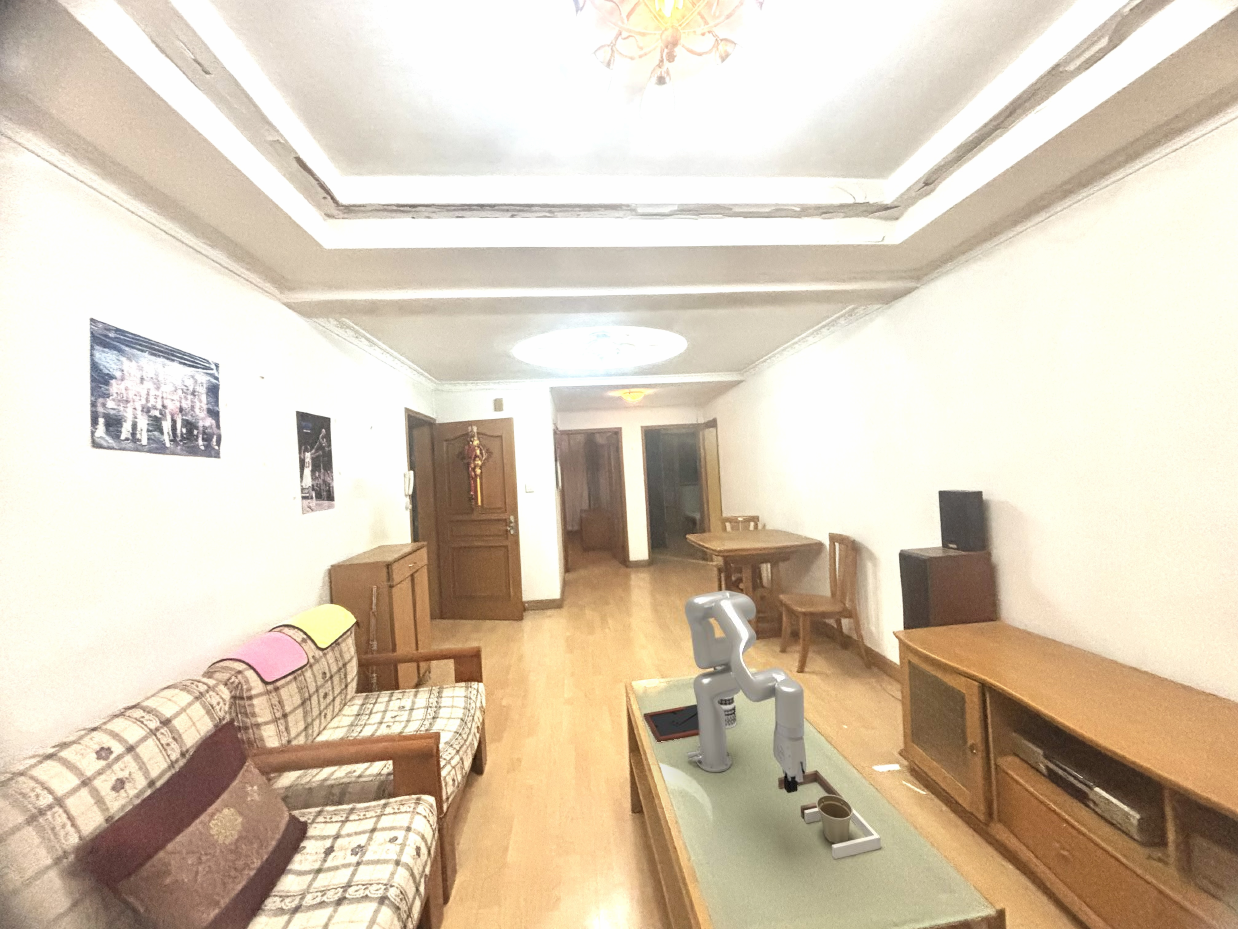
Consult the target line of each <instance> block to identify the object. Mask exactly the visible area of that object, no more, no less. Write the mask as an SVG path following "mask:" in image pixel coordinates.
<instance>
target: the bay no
mask: <svg viewBox="0 0 1238 929" xmlns="http://www.w3.org/2000/svg"><path fill="white" fill-rule="evenodd" d="M802 775H803V782H798V781H797V783H798V786H801V785H802V786H803V785H806V784H811V783H812V784H813V783H817V784H818V785H819V786H820V787H821V788H822V790H824V791H825V793H826V795H835V796H839V797H841V798H843V799H845V798H844V797H843V796H842V795H841V794H840V793H839V792H838V790H837V789H836V788H834V786H833V785H832V784H831V783H829V781H828V780H827V779H826V778H825V777H824V776H823V775H822V774H821V773H820V772H819V770H817V769H816V770H811V771H806V774H805V775H804V774H803V773H802ZM777 780H778V781H777V782H778V783H777V784H778V788H779V790H782V789H784V776H780V777H778V778H777ZM814 808H817V805H816V802H812V803H808V804H803V805H800V816H801V818H802V819H805V815H804V811H805V810H810V809H814Z"/></svg>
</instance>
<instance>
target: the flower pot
mask: <svg viewBox="0 0 1238 929" xmlns="http://www.w3.org/2000/svg"><path fill="white" fill-rule="evenodd" d="M843 798H844V797H843ZM843 798H841V797H839V796H835V795H828V794H824V795H823V794H822V795H820V796H819V797H818V798H817V799H816V801H815V803H816V805H817V808H818V810H819V813H820V815H821V820H820V821H821V824H822V825H821V826H822V829H823V835H824V837H825V838H826V839H827V841H829V842H830V843H834V844H839V843H843V842H847V841H849V833H850V824H851V822H850V821H851V816H852V814H853V809H854V807H853V806H852V805H851V804H850V802H849V801H847V800H846V799H845V798H844V799H843Z"/></svg>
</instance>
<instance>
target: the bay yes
mask: <svg viewBox="0 0 1238 929" xmlns="http://www.w3.org/2000/svg"><path fill="white" fill-rule="evenodd" d="M804 815H805V818H804V822H805V823H806V824H809V823H814V822H817V821H818V822H819V821H822V820H821V815H820V813H819V810H818V808H814V809H810V810H805V811H804ZM850 821H852V822H853V823H854V824H855V825H856V827H857V828H858V829H859V830H860V832H862V834H864V836H865V837H862V838H857V839H852V840H848V841H847V842H843V843H839V844H835V843H834V844H832V845H831V854H832V858H833V859H834V860H837V859H840V858H845V857H850V856H853V855H857V854H862V853H866V852H870V851H874V850H879V849H881V848H882V846H881V844H882V842H881V836H880V835H879V834H878V833H877V832H876V831H875V830H874V829H873V828H872V827H871V826H870V825H869V824H868V823H867V821H866V820H865V819H864V818H863V817H862V816H861V815H860V814H859V813H858V812H857V811H856V810H855V809H854V808H853V814H852V816H851V819H850Z"/></svg>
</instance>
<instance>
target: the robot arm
mask: <svg viewBox="0 0 1238 929" xmlns="http://www.w3.org/2000/svg"><path fill="white" fill-rule="evenodd" d="M756 607H757V606H756V604H755V602H754V601H753V599H751V597H749V596H748V595H746V594H745V593H744V594H743V593H740V592H736V591H731V590H720V591H715V592H707V593H703V594H698V595H695V596H691V597H690V598H688V599H687V600H686V602H685V605H684V613H685V614H684V615H685V618H686V621H687V624H688V626H689V630H690V636H691V643H692V651H693V652H692V653H693V658H694V662H695V665H696V667H698V669H700V670H709V671H706V672H701V673H700V674H698V675H697V676H695V677H694V679H693V682H692V686H693V691H694V696H695V700H696V702H695V703H696V704H697V711H698V726H699V735H698V742H699V744H698V745H699V746H698V745H697V746H696V748H697V749H695V750H694V751H689V752H686V757H687V759H688V760H689V759H692V761H693V762H694V763H695V762H696V764H697V766H698V767H700V769H702V770H703V771H706V772H709V773H722V772H725V771H727V770H729V768H731V766H732V764H733V758H732V756H731V754H730V753H729V752H728V748H727V747H728V746H727V744H728V743H727V728H726V726H725V713H724V710H723V708H722V706H721V705H720V704H719V703H718V701H719V700H720V699H723V698H726V697H730V696H733V695H734V696H736V695H737V694H739V693H740V692H742V694H743V695H744V696H745V697H746V699H748V700H749V701H750V702H752V703H761V702H764V701H767V700H771V699H773V698H774V709H775V710H774V714H775V715H774V719H775V723H774V724H775V725H774V731H773V743H772V744H773V746H772V747H773V748H772V752H773V757H774V759H775V760H776V762H777V763H778V764H779V766H780V767H781V768H782V773H783V777H784V788H783V789H784V790H785V791H786V792H787V794H790V793H797V792H798V791H799V788H798V786H799V785H798V783H797V781H798V782H803V775H802V773H803V774H804V775H805V774H806V772H807V752H806V745H805V738H804V737H805V705H804V704H805V703H804V702H805V701H804V699H805V697H804V695H805V694H804V688H803V686H802V685H801V683H800V682H798V681H796V680H794V679H793V678H791V676H790V675H789V674H788V673H787V672H786V671H785V670H784V669H783V668H781V667H777V666H776V667H775V666H774V667H770V668H767V669H764V670H760V671H755V672H753V673H752V672H751V671H750V670H749V669H748V667H747V665H746V664H745V661H744V660H745V659H744V656H743V655H744V654H745V653H746V652H747V651H748V650H749V649H751V648H752V646H753V645H755V643H756V640H757V634H756V632H755V630H754V629H753V627H752V626H751V625H750V623H749V622H748V621H751V620H753V619H754V618H755V617H756V614H757V609H756ZM710 619H715V621H716V623H717V624H718V626H719V628H720V629H721V631H722V633H723V634H724V636H718V637H716V630H715V626H714V625H713V623H712V621H711V620H710ZM718 666H722V668H720V669H717V670H714V669H713V668H715V667H718ZM710 669H712V670H710Z"/></svg>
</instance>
